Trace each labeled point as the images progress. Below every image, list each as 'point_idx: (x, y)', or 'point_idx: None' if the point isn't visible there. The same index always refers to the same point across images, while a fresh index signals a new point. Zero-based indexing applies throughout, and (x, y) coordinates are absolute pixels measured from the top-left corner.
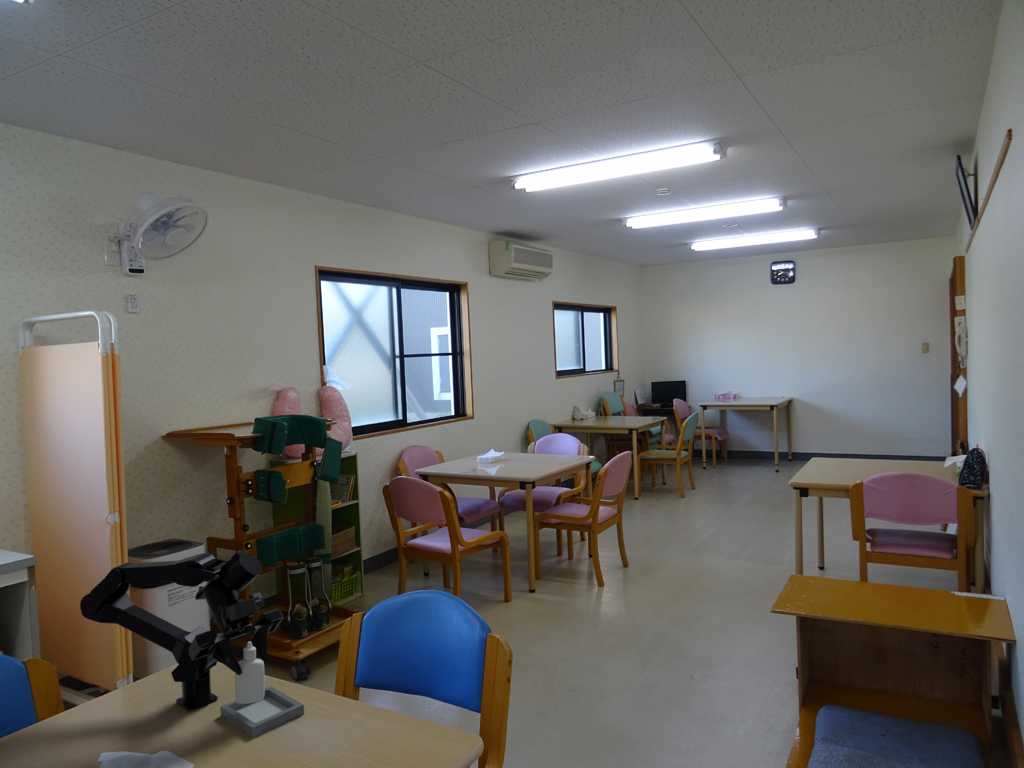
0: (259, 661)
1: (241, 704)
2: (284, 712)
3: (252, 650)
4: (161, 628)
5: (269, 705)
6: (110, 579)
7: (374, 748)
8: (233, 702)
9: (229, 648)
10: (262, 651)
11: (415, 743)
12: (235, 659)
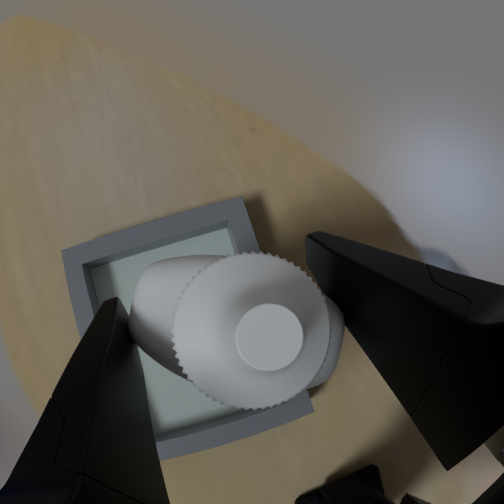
0: (165, 275)
1: (241, 413)
2: (125, 234)
3: (228, 255)
4: None
5: (151, 374)
6: None
7: (52, 52)
8: (270, 418)
9: (490, 313)
10: (107, 362)
11: (10, 49)
12: (387, 265)
